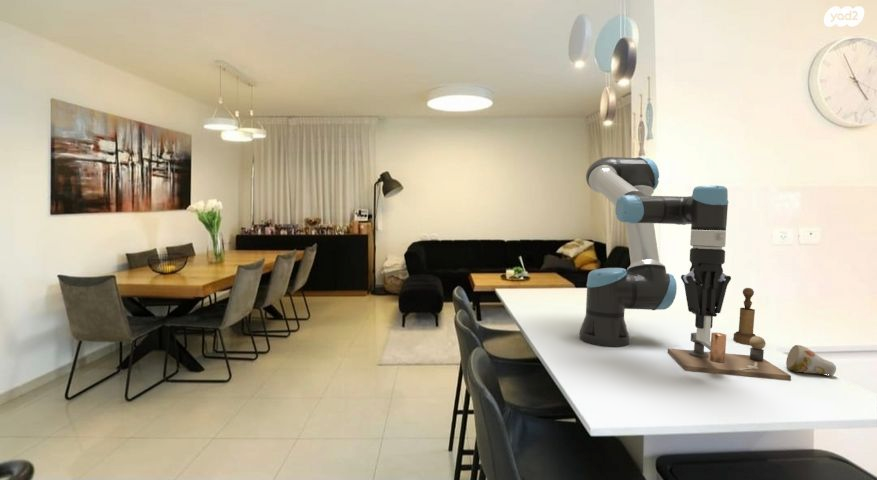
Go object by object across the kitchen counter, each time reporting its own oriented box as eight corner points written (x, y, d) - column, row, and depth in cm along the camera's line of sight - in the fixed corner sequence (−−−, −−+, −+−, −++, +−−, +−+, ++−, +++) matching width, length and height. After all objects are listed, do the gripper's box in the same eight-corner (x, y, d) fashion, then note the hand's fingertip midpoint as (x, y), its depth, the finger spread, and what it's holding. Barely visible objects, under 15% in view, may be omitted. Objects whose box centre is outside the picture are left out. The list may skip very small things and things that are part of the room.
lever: (688, 343, 127) (689, 320, 126) (704, 345, 126) (706, 321, 125) (710, 362, 110) (711, 335, 110) (729, 363, 109) (731, 336, 109)
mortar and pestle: (761, 345, 140) (765, 290, 139) (739, 344, 141) (742, 289, 140) (751, 340, 146) (754, 287, 145) (729, 338, 148) (732, 286, 147)
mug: (844, 382, 109) (825, 347, 109) (798, 390, 115) (780, 357, 114) (836, 367, 115) (818, 334, 115) (793, 375, 121) (775, 343, 121)
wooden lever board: (685, 370, 114) (686, 341, 114) (667, 352, 130) (669, 326, 129) (790, 380, 109) (792, 349, 108) (759, 360, 124) (760, 333, 124)
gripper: (697, 248, 104) (692, 345, 105) (742, 249, 107) (737, 344, 107) (673, 246, 111) (669, 337, 112) (716, 247, 114) (712, 336, 115)
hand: (703, 340), depth 110 cm, fingers closed
